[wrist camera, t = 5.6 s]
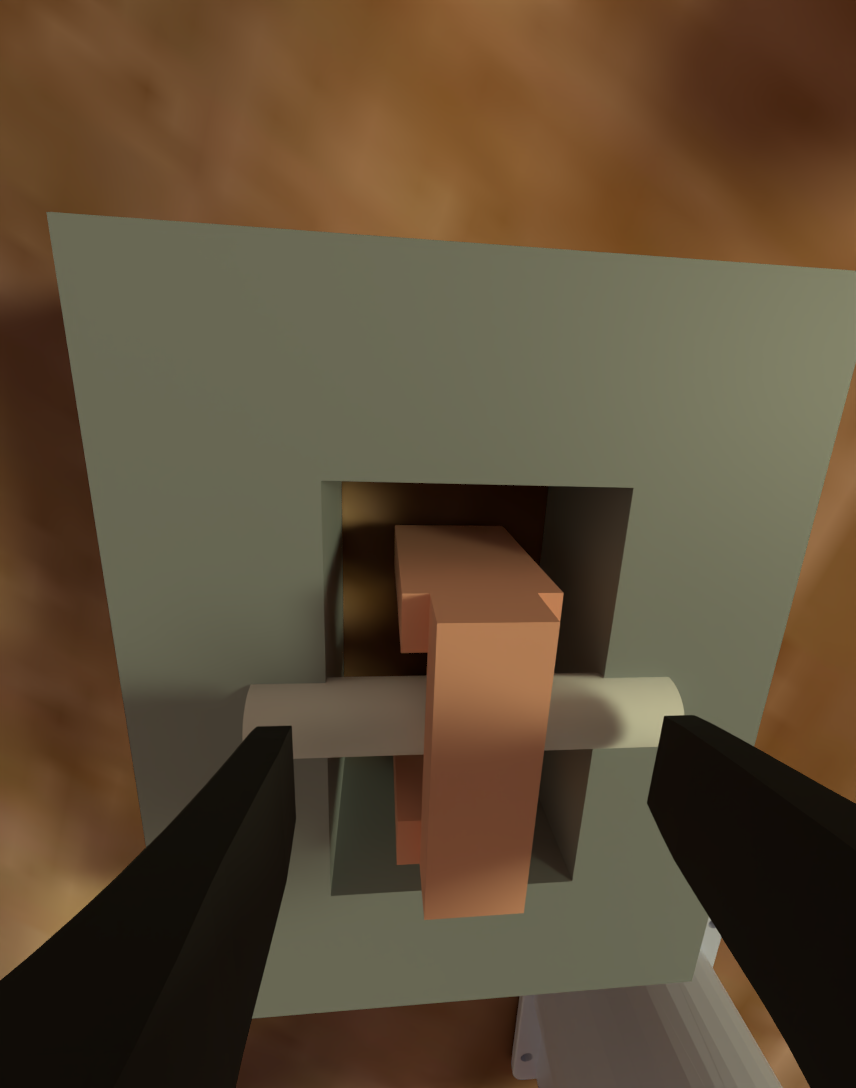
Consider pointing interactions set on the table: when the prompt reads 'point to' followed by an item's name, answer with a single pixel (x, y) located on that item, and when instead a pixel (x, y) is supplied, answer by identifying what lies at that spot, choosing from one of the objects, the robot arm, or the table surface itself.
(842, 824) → the robot arm
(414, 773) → the orange arch block
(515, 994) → the grey panel with window
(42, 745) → the table surface
